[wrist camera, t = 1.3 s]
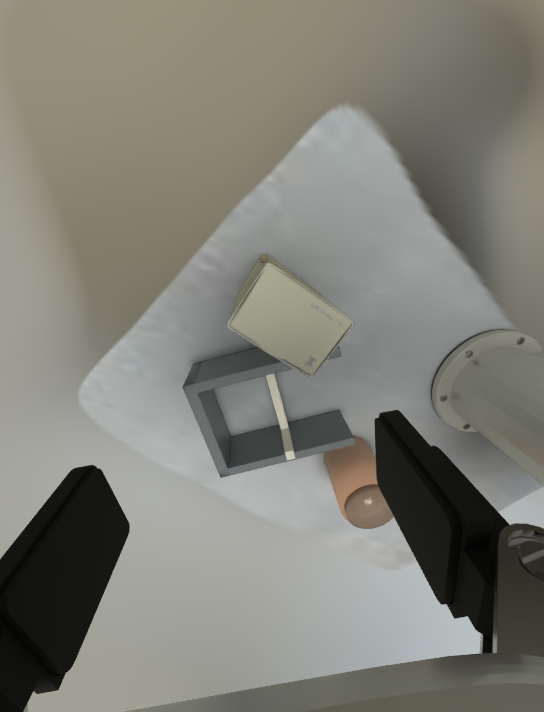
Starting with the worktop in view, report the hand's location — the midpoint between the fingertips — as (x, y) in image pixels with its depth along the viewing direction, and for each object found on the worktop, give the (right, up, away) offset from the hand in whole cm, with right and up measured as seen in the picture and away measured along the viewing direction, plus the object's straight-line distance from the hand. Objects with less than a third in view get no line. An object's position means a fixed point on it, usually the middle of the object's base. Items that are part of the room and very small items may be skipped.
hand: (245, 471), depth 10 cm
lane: (+1, 0, +21) cm, 21 cm away
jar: (+10, -9, +26) cm, 29 cm away
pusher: (+1, 0, +21) cm, 21 cm away
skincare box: (+1, +10, +18) cm, 20 cm away
